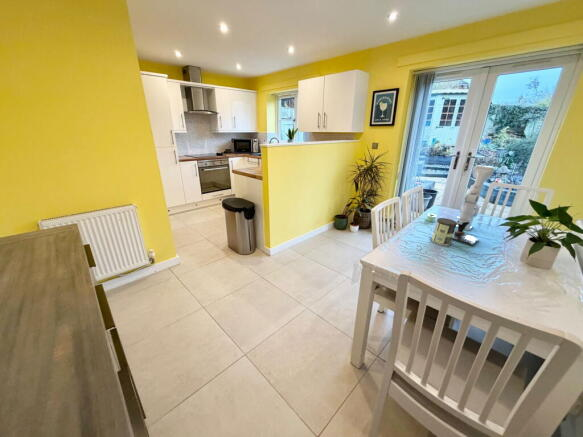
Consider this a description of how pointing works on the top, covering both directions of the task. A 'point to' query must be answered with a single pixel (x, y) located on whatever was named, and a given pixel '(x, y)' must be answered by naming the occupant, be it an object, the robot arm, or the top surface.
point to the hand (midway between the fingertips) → (460, 231)
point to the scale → (458, 238)
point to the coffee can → (444, 231)
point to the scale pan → (468, 237)
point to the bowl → (431, 217)
